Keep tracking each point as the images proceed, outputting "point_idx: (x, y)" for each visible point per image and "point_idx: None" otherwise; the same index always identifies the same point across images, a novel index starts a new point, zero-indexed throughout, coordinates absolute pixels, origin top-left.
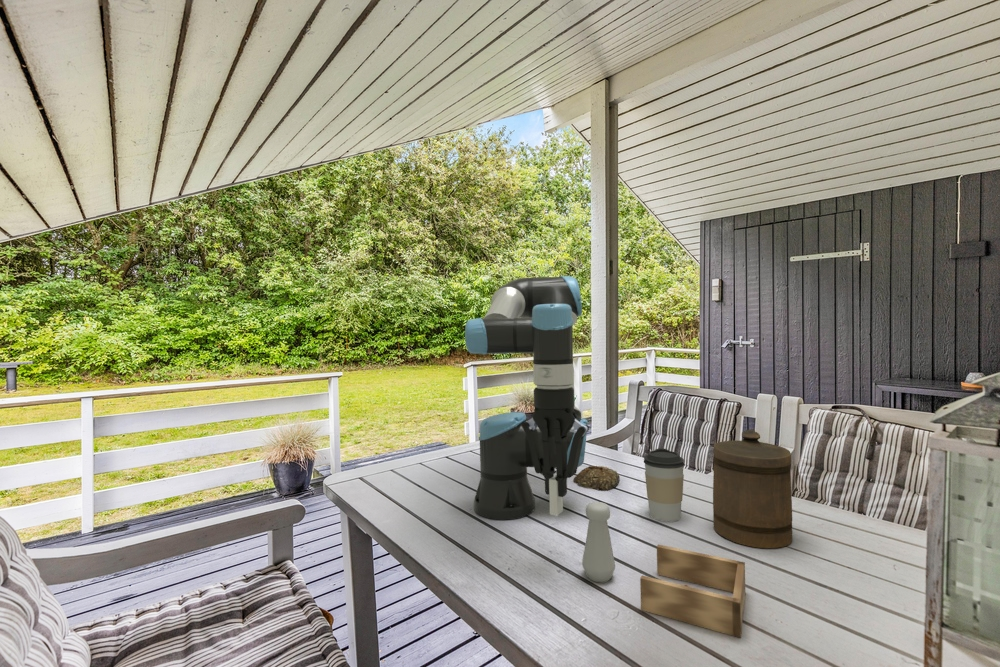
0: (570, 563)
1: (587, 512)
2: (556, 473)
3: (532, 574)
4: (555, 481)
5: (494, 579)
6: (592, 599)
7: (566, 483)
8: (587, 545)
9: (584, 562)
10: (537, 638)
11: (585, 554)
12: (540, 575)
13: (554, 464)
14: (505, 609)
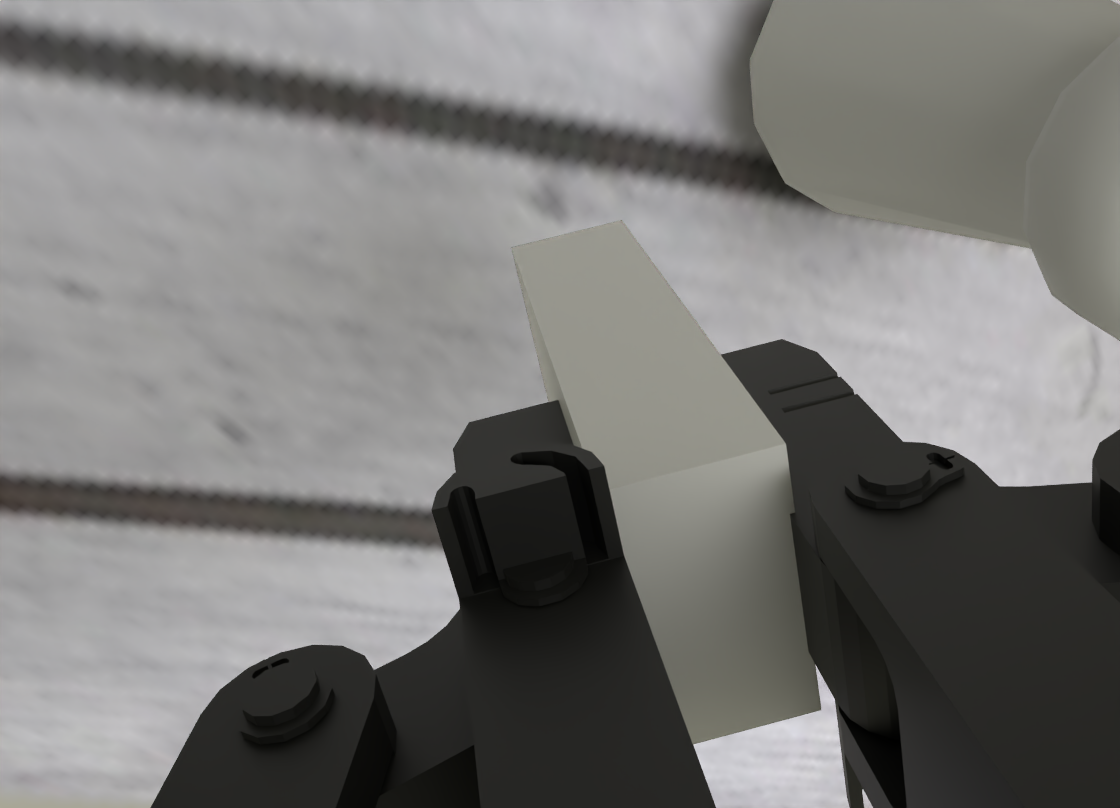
0: (555, 32)
1: (1113, 335)
2: (868, 797)
3: (428, 374)
4: (790, 697)
5: (276, 586)
6: (919, 338)
7: (884, 433)
8: (906, 216)
9: (819, 198)
10: (826, 748)
11: (851, 204)
12: (482, 345)
13: (672, 693)
14: None
